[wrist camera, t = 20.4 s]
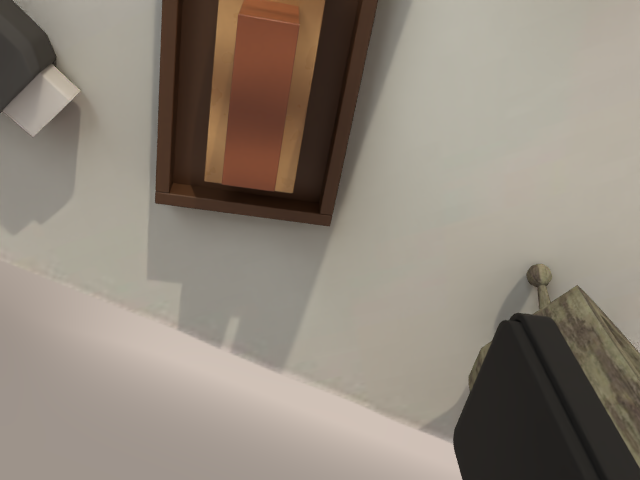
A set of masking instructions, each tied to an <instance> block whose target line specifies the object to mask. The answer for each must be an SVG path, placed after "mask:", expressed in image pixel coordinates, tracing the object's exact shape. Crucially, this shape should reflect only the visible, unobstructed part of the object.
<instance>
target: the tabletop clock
mask: <svg viewBox="0 0 640 480" xmlns="http://www.w3.org/2000/svg"><path fill="white" fill-rule="evenodd" d="M527 279H528V281H529V283H530V284H531V285H533V286H535V287H538V297H539V308H540V310H539V311H537V312H536V313H534V314H533V315H539V316H547V317H550V318H552V319H553V320H554V321H555V323H556V325H557V326H558V328H559V330H560V331H561V333H562V335H563V337H564V338H565V340H566V342H567V344H568V345H569V347H570V349H571V350H572V352H573V354H574V356H575V357H576V359H577V361H578V362H579V364H580V366H581V368H582V369H583V371H584V373H585V375H586V376H587V378H588V380H589V381H590V383H591V385H592V387H593V388H594V390H595V392H596V394H597V395H598V397H599V399H600V400H601V402H602V404H603V406H604V407H605V409H606V411H607V412H608V414H609V416H610V418H611V419H612V421H613V423H614V425H615V426H616V428H617V430H618V431H619V433H620V435H621V437H622V438H623V440H624V442H625V444H626V445H627V447H628V449H629V450H630V452H631V454H632V456H633V457H634V459H635V461H636V463H637V464H638V466H639V468H640V353H639V352H638V351H637V350H636V349H635V348H634V346H633V345H632V344H631V343H630V342H629V341H628V340H627V338H626V337H625V336H624V335H623V334H622V333H621V332H620V330H619V329H618V328H617V327H616V326H615V325H614V324H613V323H612V322H611V320H610V319H609V318H608V317H607V316H606V315H605V314H604V313H603V312H602V311H601V309H600V308H599V307H598V306H597V305H596V304H595V303H594V302H593V301H592V300H591V298H590V297H589V296H588V295H587V294H586V293H585V292H584V291H583V290H582V289H581V288H580V287H579V286H575V287H574V288H572V289H571V290H569V291H568V292H566V293H565V294H563V295H562V296H560V297H559V298H557V299H556V300H554V301H553V302H550V299H549V295H548V292H547V289H546V286H547V285H548V283H549V282H550V281H551V279H552V275H551V272H550V269H549V268H548V267H547V266H545V265H543V264H536V265H533V266H531V267H530V269H529V270H528V272H527ZM490 345H491V342H490V343H489V344H487V345H485V346H484V347H482V348H481V350H480V352H479V355H478V357H477V359H476V361H475V363H474V366H473V368H472V370H471V372H470V375H469V388H470V392H471V389H472V387H473V385H474V382H475V380H476V378H477V375H478V373H479V371H480V368H481V366H482V364H483V361H484V359H485V357H486V354H487V352H488V349H489V347H490Z"/></svg>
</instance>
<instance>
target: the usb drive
mask: <svg viewBox="0 0 640 480" xmlns="http://www.w3.org/2000/svg"><path fill="white" fill-rule="evenodd" d="M55 60H56V55H55V53H54V50H53V48H52V46H51V44H50V41H49V39H48V37H47V35H46V33H45V32H44V31H43V30H42V29H41V28H40V27H39V26H38V25H37V24H36V23H35V22H34V21H33V20H32V19H31V18H30V17H29V16H28V15H27V14H26V13H25V12H24V11H23V10H22V9H20V8H19V7H18V6H17V5H16V4H15V3H14V2H13V1H12V0H0V113H1V112H2V111H3V112H4V113H5V114H7V115H8V116H9V117H10V118H11V119H12V120H13V121H15V122H16V123H17V124H18V125H19V126H20V127H22V128H23V129H24V130H25V131H26V132H27V133H29V134H30V135H31V136H32V137H34V136H35V135H36V134H37V133H38V132H39V131H40V130H41V129H42V128H43V127H44V126H45V125H46V124H47V123H48V122H49V121H51V120H52V119H53V118H54V117H55V116H56V115H57V114H58V113H59V112H60V111H61V110H62V109H63V108H64V107H65V106H66V105H67V104H68V103H69V102H70V101H71V100H72V99H73V98H74V97H75V96H76V95H77V94H78V93H79V92H80V90H79V89H78V88H77V87H76V86H75V85H74V84H73V83H72V82H71V81H70V80H69V79H67V78H66V77H65V76H64V75H63V74H62V73H61V72H60V71H59V70H58V69H57V68H56V67H55V66H54V65H53V64H52V63H53V62H54V61H55Z"/></svg>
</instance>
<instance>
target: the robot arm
mask: <svg viewBox="0 0 640 480" xmlns="http://www.w3.org/2000/svg"><path fill="white" fill-rule="evenodd" d="M453 443H454V450H455V454H456V458H457V461H458V465H459V468H460V472H461V476H462V479H463V480H640V468H639V466H638V464H637V463H636V461H635V459H634V457H633V456H632V454H631V452H630V450H629V449H628V447H627V445H626V444H625V442H624V440H623V438H622V437H621V435H620V433H619V431H618V430H617V428H616V426H615V425H614V423H613V421H612V419H611V418H610V416H609V414H608V412H607V411H606V409H605V407H604V406H603V404H602V402H601V400H600V399H599V397H598V395H597V394H596V392H595V390H594V388H593V387H592V385H591V383H590V381H589V380H588V378H587V376H586V375H585V373H584V371H583V369H582V368H581V366H580V364H579V362H578V361H577V359H576V357H575V356H574V354H573V352H572V350H571V349H570V347H569V345H568V344H567V342H566V340H565V338H564V337H563V335H562V333H561V331H560V330H559V328H558V326H557V325H556V323H555V321H554V320H553V319H552V318H550V317H547V316H539V315H530V314H522V313H516V314H514V315H513V316H512V317H511V318H510V320H509V321H508V320H504V321H502V322H501V323H500V324H499V326H498V328H497V331H496V333H495V335H494V338H493V340H492V342H491V345H490V347H489V349H488V352H487V354H486V357H485V359H484V361H483V364H482V366H481V368H480V371H479V373H478V375H477V378H476V380H475V382H474V385H473V387H472V389H471V392H470V394H469V396H468V399H467V401H466V403H465V406H464V408H463V411H462V413H461V415H460V418H459V420H458V422H457V425H456V427H455V430H454V437H453Z"/></svg>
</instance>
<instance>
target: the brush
mask: <svg viewBox="0 0 640 480" xmlns="http://www.w3.org/2000/svg"><path fill="white" fill-rule="evenodd" d="M324 6H325V0H219V3H218V15H217V27H216V40H215V52H214V65H213V77H212V89H211V102H210V114H209V126H208V139H207V151H206V164H205V176H204V181H207V182H214V183H221V184H222V185H229V186H236V187H244V188H251V189H258V190H266V191H273V192H274V191H279V192H287V193H293V190H294V184H295V178H296V172H297V166H298V160H299V155H300V149H301V143H302V137H303V131H304V125H305V119H306V113H307V107H308V101H309V95H310V89H311V83H312V77H313V71H314V66H315V60H316V54H317V48H318V42H319V36H320V30H321V24H322V18H323V12H324Z"/></svg>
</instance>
